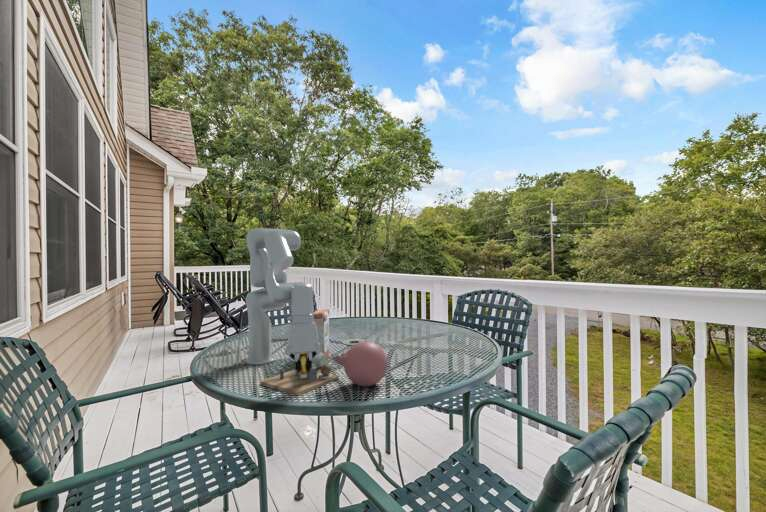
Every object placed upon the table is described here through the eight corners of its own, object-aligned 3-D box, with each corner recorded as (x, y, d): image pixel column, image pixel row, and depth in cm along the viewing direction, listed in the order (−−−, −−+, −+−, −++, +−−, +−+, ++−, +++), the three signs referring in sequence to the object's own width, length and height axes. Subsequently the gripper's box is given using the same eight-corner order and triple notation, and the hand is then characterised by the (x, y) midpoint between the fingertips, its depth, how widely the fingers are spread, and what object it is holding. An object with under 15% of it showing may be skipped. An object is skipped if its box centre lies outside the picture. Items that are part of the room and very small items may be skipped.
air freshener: (318, 371, 150) (318, 346, 150) (299, 370, 151) (298, 346, 151) (327, 363, 160) (326, 340, 160) (308, 363, 162) (308, 340, 162)
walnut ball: (318, 375, 138) (318, 364, 138) (325, 372, 142) (325, 362, 142) (326, 377, 136) (326, 366, 136) (333, 374, 139) (333, 363, 139)
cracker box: (325, 360, 165) (324, 313, 165) (311, 360, 165) (310, 313, 165) (330, 352, 179) (329, 308, 179) (317, 352, 179) (316, 309, 179)
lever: (296, 367, 144) (295, 344, 144) (307, 366, 145) (307, 343, 145) (297, 380, 129) (296, 355, 129) (310, 379, 130) (309, 353, 130)
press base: (260, 384, 135) (259, 369, 135) (300, 370, 151) (300, 356, 151) (299, 395, 124) (298, 378, 124) (338, 378, 140) (338, 364, 140)
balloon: (339, 376, 142) (338, 336, 142) (390, 378, 139) (390, 337, 139) (325, 391, 127) (324, 346, 127) (383, 394, 124) (382, 347, 124)
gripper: (278, 322, 125) (279, 377, 125) (327, 319, 129) (328, 372, 129) (278, 318, 132) (279, 370, 132) (324, 316, 137) (325, 366, 137)
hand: (303, 370), depth 131 cm, fingers closed on lever, 2 cm apart
